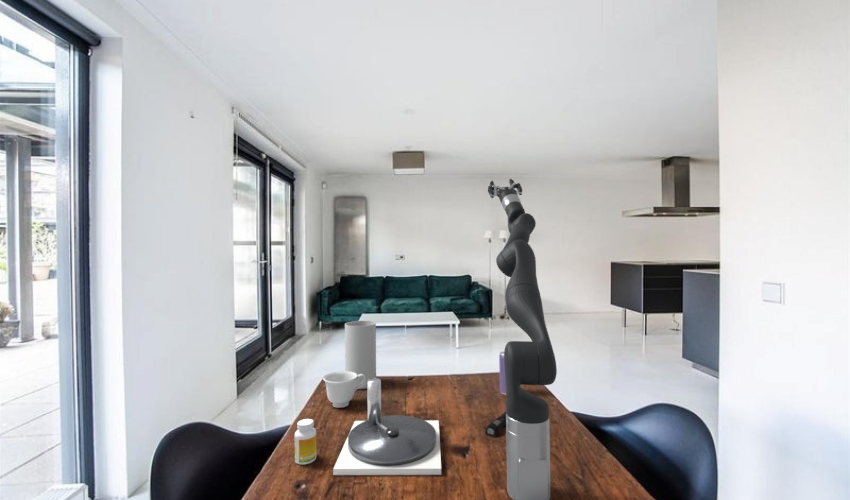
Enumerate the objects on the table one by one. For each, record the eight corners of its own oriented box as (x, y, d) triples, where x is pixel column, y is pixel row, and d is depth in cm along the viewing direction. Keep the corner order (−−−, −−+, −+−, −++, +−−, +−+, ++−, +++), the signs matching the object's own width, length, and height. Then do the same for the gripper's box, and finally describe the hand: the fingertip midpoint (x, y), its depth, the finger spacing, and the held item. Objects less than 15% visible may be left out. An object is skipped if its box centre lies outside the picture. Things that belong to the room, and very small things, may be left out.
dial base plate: (441, 474, 89) (441, 467, 89) (333, 475, 90) (333, 467, 90) (438, 425, 115) (438, 419, 115) (354, 425, 116) (354, 419, 116)
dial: (436, 465, 90) (436, 407, 91) (338, 466, 91) (337, 408, 91) (435, 421, 114) (434, 375, 115) (357, 421, 115) (357, 376, 115)
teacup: (369, 407, 130) (369, 378, 130) (325, 414, 124) (325, 384, 125) (362, 395, 141) (361, 368, 141) (321, 401, 136) (321, 373, 136)
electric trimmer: (516, 419, 120) (515, 409, 120) (495, 438, 107) (495, 427, 107) (505, 417, 122) (504, 407, 122) (484, 435, 109) (483, 424, 109)
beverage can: (497, 394, 141) (497, 354, 141) (502, 388, 146) (501, 350, 146) (513, 396, 138) (513, 356, 138) (517, 391, 143) (517, 352, 143)
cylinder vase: (343, 381, 157) (343, 321, 157) (373, 378, 161) (373, 319, 161) (346, 391, 145) (346, 327, 145) (378, 387, 149) (378, 325, 149)
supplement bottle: (320, 457, 98) (320, 420, 98) (304, 467, 93) (304, 428, 93) (306, 452, 100) (306, 415, 101) (290, 461, 96) (290, 423, 96)
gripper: (493, 210, 160) (485, 190, 172) (526, 207, 160) (515, 187, 172) (494, 196, 155) (486, 175, 167) (528, 192, 155) (517, 172, 167)
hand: (501, 181), depth 169 cm, fingers open, 8 cm apart
